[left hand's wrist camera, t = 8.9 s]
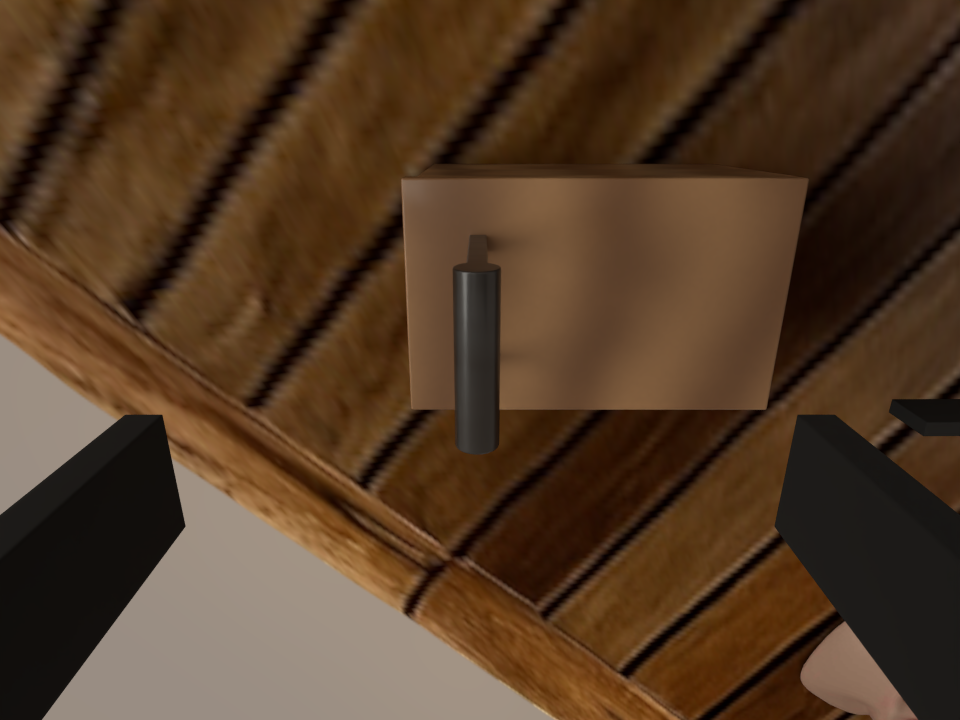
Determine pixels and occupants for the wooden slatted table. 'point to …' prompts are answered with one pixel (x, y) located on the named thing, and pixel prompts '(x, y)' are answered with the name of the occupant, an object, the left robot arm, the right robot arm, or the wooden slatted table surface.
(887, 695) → the anatomical model
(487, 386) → the lid
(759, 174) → the chest
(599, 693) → the wooden slatted table surface
